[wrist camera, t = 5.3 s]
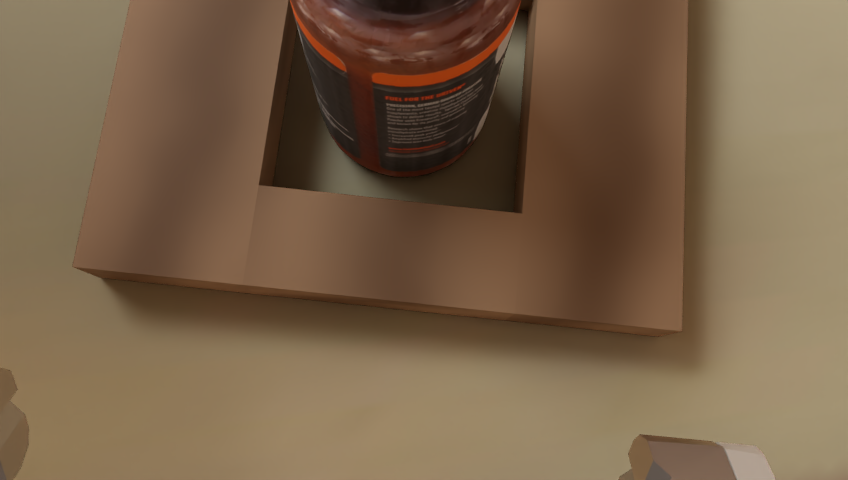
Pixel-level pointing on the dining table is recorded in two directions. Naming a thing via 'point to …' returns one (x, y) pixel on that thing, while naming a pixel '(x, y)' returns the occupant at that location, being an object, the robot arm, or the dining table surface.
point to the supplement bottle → (404, 75)
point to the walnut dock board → (394, 219)
